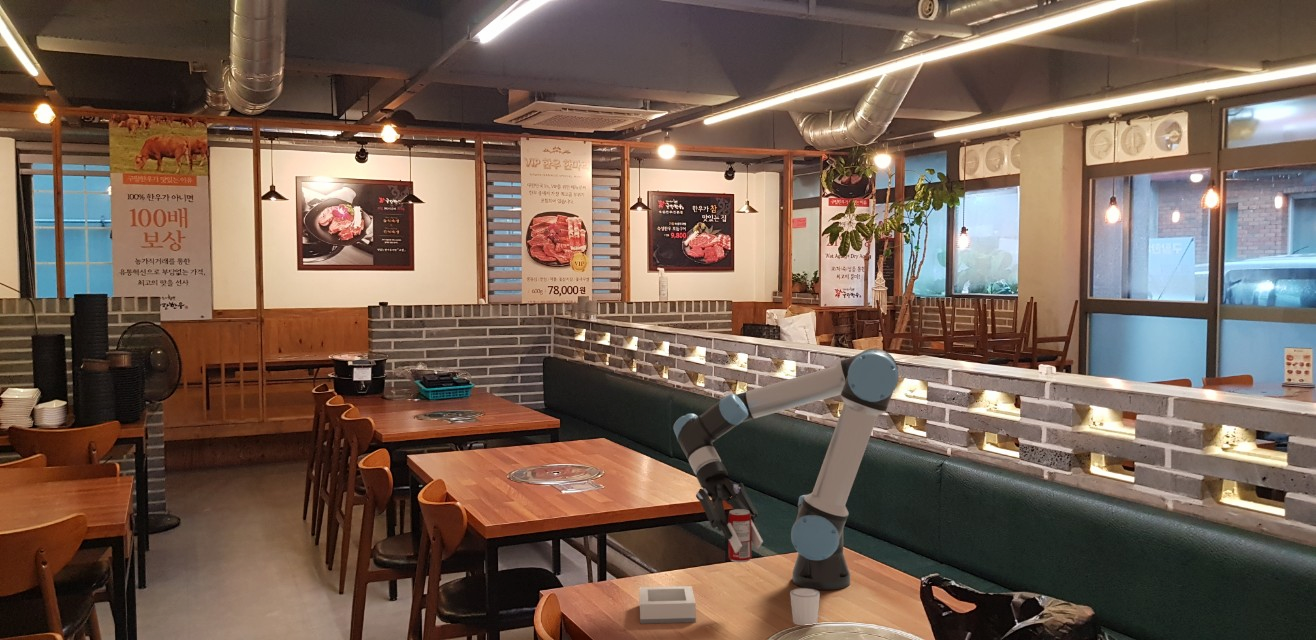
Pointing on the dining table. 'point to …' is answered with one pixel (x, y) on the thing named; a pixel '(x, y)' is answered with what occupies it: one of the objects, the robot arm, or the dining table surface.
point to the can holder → (667, 604)
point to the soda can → (741, 534)
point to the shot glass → (804, 605)
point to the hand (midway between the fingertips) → (749, 547)
